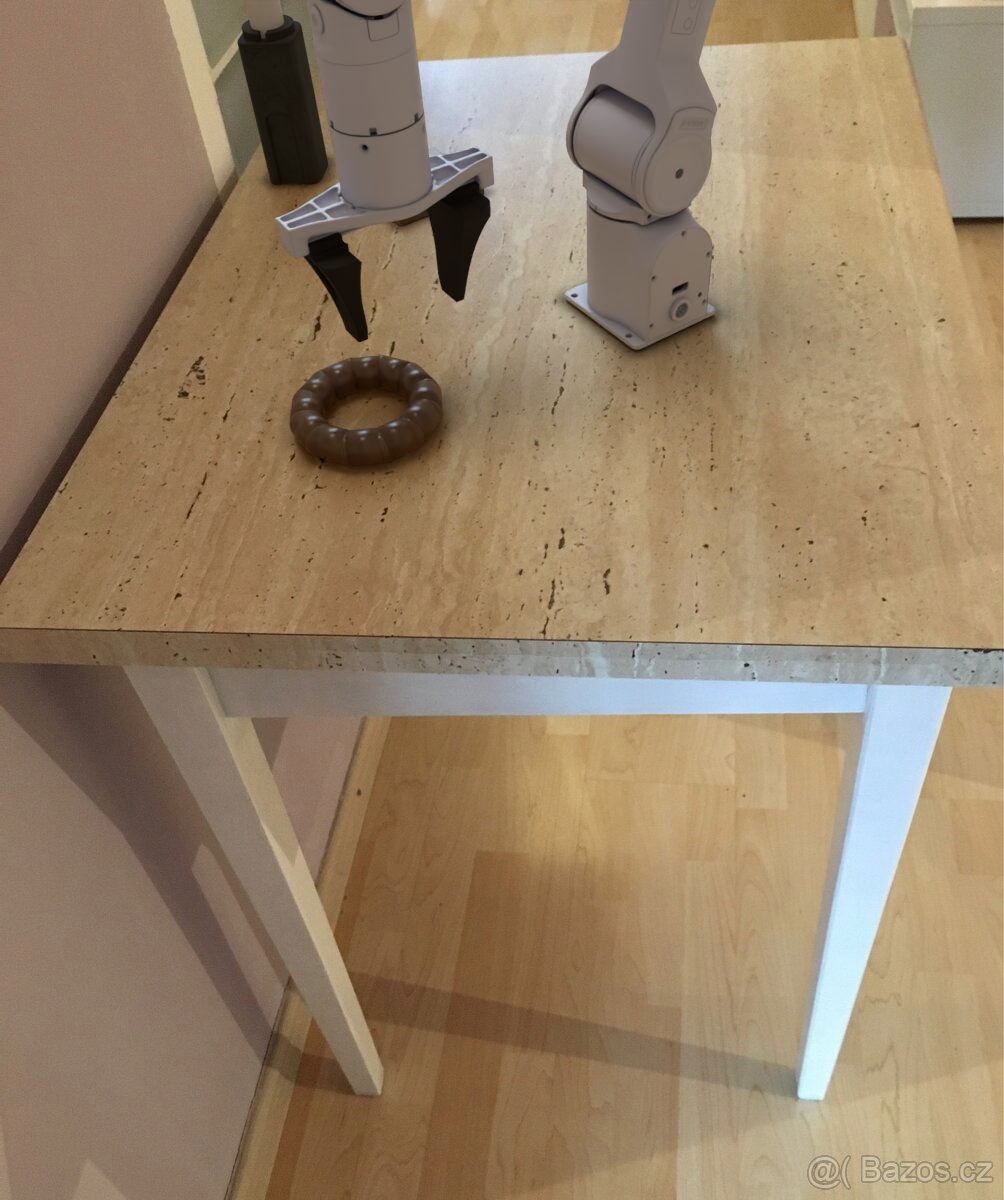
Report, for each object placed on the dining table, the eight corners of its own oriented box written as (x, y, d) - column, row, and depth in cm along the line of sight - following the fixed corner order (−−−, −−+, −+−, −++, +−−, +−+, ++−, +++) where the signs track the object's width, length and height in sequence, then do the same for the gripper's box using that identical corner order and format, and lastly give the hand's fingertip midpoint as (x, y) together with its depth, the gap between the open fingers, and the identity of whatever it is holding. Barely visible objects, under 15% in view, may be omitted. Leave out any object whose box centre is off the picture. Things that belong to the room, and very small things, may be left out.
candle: (330, 158, 104) (272, -144, 85) (319, 184, 100) (256, -125, 82) (280, 159, 104) (211, -141, 85) (267, 185, 101) (193, -122, 82)
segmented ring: (471, 430, 75) (468, 403, 73) (337, 493, 71) (330, 466, 69) (396, 358, 81) (392, 332, 79) (269, 413, 77) (262, 387, 76)
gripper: (445, 60, 67) (464, 254, 77) (236, 128, 62) (285, 325, 72) (506, 96, 63) (518, 296, 73) (287, 172, 58) (332, 374, 68)
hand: (405, 314), depth 72 cm, fingers open, 7 cm apart
